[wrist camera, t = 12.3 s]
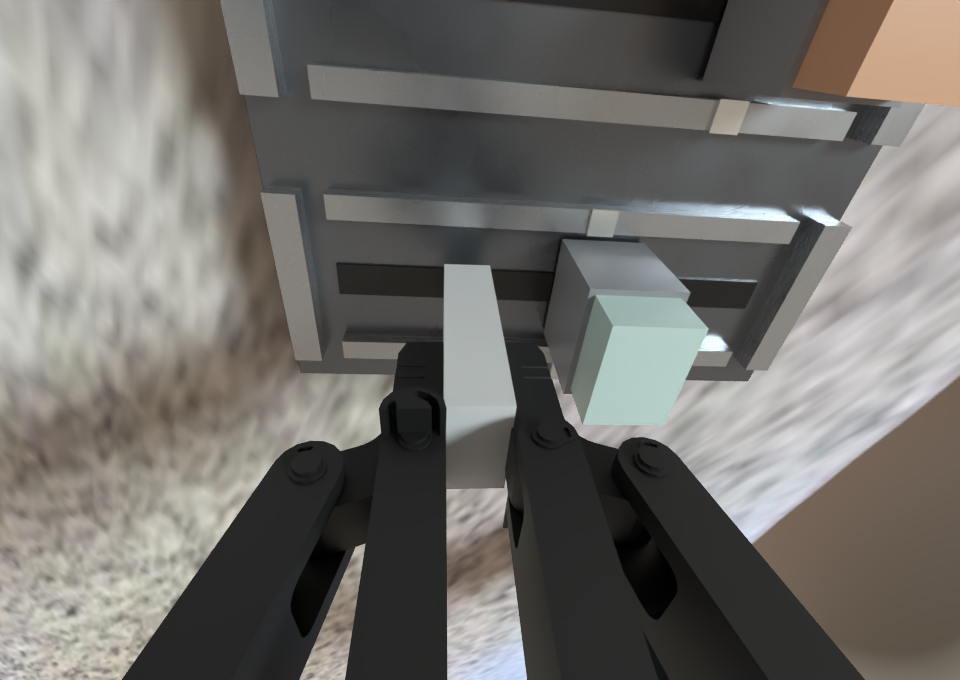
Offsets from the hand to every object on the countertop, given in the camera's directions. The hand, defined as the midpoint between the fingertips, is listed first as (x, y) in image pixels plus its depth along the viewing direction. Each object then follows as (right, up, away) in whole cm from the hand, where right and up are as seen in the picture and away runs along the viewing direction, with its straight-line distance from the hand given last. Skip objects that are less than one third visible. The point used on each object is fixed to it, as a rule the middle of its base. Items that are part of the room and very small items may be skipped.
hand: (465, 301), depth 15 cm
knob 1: (+5, +1, +2) cm, 5 cm away
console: (+4, +6, +1) cm, 7 cm away
